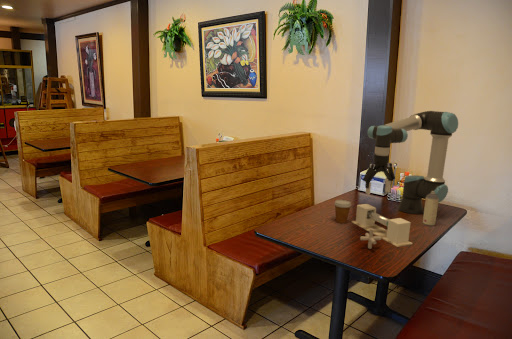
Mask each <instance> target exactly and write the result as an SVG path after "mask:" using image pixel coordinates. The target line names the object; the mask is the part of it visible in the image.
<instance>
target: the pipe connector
mask: <svg viewBox="0 0 512 339" xmlns="http://www.w3.org/2000/svg"><path fill="white" fill-rule="evenodd" d="M373 230H374V229H373V228H370V231H368V232H365V234H364V235H365V236H360V237H359V239H360V241H368V242H367V249H370V250H371V249H373V245H377V241H381V240H382V238H381V236H376V235H374V234H373Z"/></svg>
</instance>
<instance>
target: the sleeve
mask: <svg viewBox="0 0 512 339" xmlns="http://www.w3.org/2000/svg"><path fill="white" fill-rule="evenodd" d="M368 211H373V212H375V213H377V207H375V206H374V205H371V204H368V203H364V204H363V203H362V204H357V205H356V215H355V221H356V222H357V223H359V224H360V225H362V226H364V227H366V226H373V225H375V222H376V221H375V220H373V219H371V218H369V217H367V212H368Z"/></svg>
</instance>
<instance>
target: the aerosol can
mask: <svg viewBox="0 0 512 339" xmlns="http://www.w3.org/2000/svg"><path fill="white" fill-rule="evenodd" d="M438 201H439V197H438V196H437V195H436V194H435V191H431V193H430V194H428V195H426V199H425V202H424V207H423V216H422V225H424V226H427V227H435V226H436V222H437V215H438V207H439V202H438Z"/></svg>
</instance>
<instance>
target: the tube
mask: <svg viewBox="0 0 512 339" xmlns="http://www.w3.org/2000/svg"><path fill="white" fill-rule="evenodd" d="M367 217H369V218H371V219H373V220H375V222H378V223H379V224H381V225H384V226H385V227H387V228H388V220H390V218H387V217H385V216H384V215H382V214H379V213H377V212H376V213H375V212H373V211H368V212H367Z"/></svg>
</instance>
